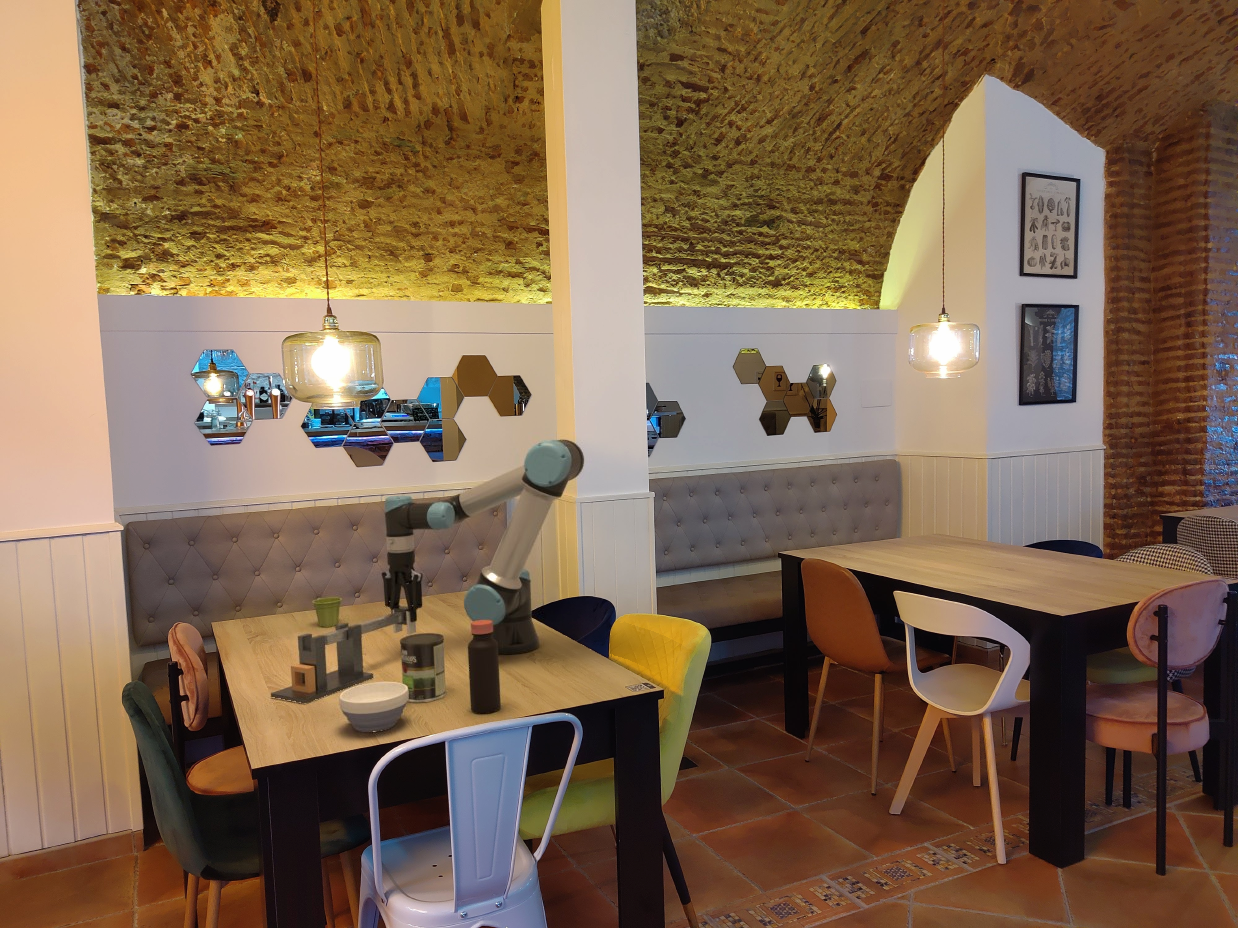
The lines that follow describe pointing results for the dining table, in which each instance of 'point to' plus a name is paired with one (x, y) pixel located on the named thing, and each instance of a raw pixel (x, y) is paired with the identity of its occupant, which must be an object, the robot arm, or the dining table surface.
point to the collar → (297, 678)
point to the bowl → (374, 705)
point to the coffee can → (423, 666)
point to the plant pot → (327, 611)
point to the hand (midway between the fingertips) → (404, 632)
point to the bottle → (483, 669)
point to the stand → (315, 656)
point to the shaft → (370, 625)
